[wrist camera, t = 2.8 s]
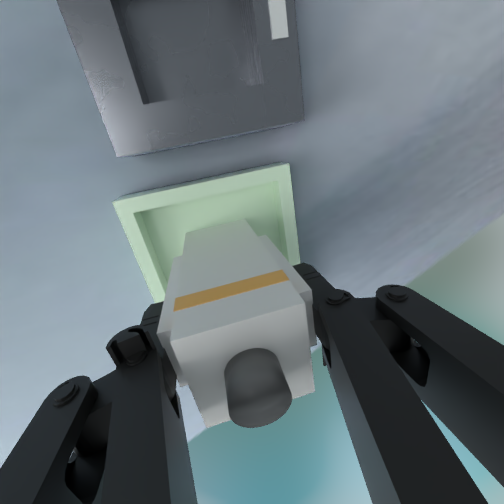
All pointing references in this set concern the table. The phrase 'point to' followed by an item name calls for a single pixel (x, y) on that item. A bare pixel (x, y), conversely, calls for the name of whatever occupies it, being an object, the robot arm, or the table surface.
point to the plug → (239, 328)
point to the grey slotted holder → (187, 68)
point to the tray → (207, 216)
